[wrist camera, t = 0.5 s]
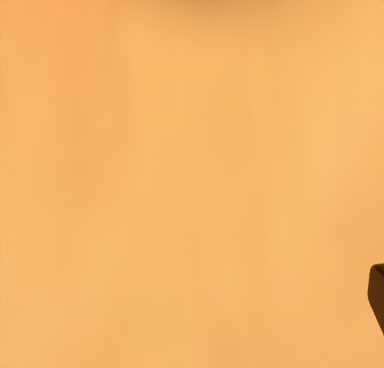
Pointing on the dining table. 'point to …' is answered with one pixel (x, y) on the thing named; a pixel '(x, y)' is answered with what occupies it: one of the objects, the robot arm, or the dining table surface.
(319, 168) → the dining table surface
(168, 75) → the dining table surface
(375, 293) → the robot arm
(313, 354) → the dining table surface
